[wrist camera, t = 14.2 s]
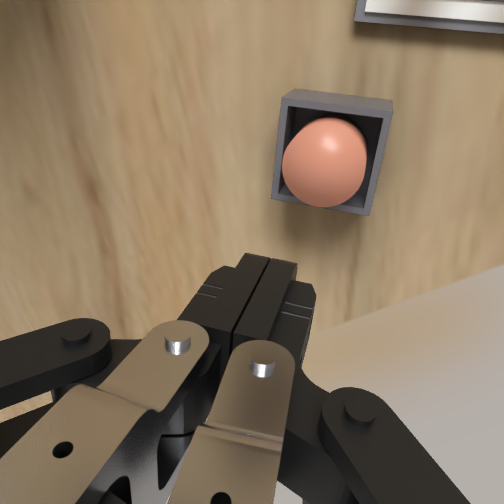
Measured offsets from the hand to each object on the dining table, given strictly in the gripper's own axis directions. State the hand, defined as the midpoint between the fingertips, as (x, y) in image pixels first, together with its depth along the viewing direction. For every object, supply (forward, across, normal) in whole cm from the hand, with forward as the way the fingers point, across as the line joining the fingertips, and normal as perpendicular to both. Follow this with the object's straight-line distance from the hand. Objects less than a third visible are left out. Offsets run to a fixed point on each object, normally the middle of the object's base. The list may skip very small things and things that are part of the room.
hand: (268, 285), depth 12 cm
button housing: (+18, 0, 0) cm, 18 cm away
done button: (+16, 0, 0) cm, 16 cm away
